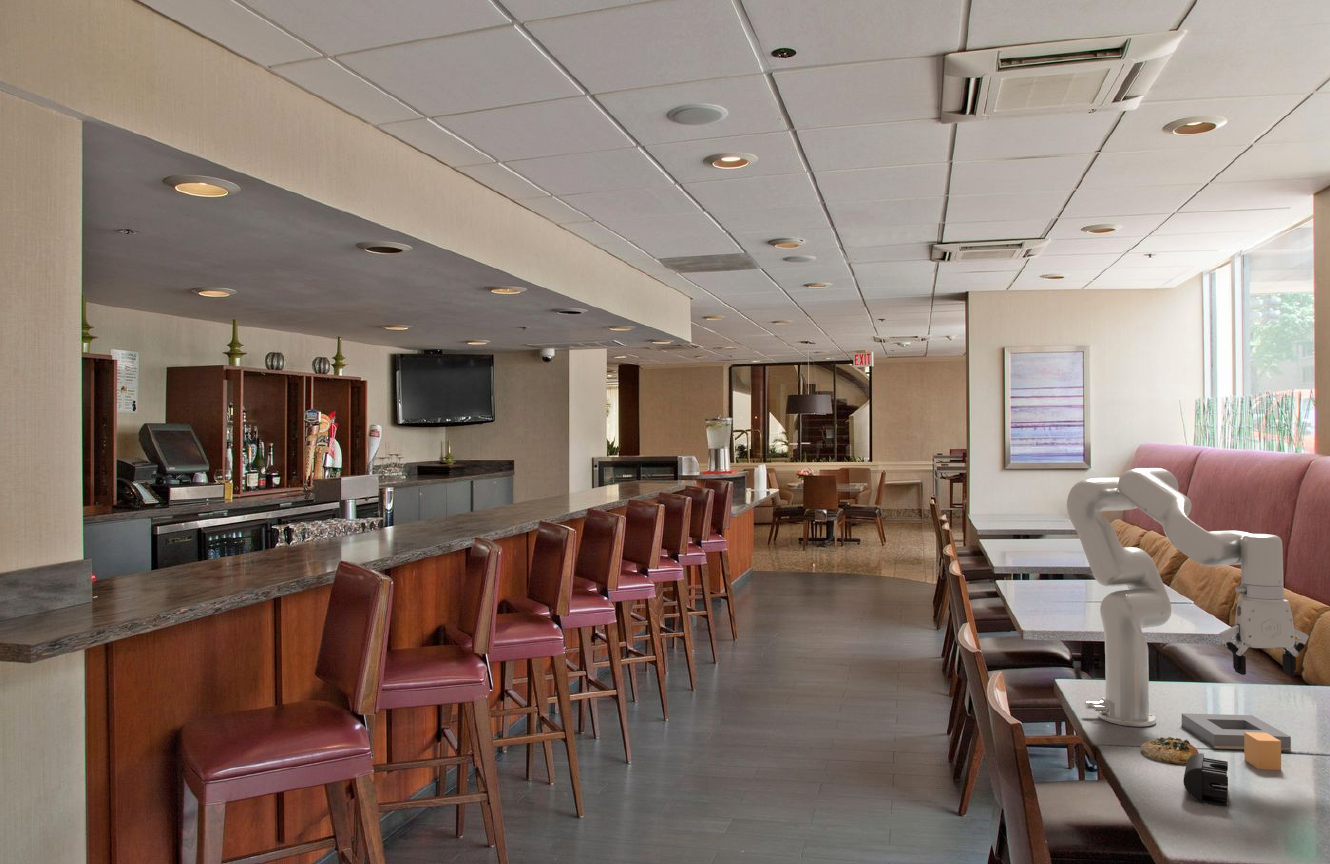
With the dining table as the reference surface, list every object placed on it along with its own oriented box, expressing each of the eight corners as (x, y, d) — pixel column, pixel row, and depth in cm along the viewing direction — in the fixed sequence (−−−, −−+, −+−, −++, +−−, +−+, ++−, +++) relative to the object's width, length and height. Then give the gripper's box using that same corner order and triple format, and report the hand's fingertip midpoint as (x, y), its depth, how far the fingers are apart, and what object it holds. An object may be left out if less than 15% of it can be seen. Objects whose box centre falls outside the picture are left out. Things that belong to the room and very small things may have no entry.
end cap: (1186, 784, 183) (1186, 750, 183) (1228, 791, 179) (1227, 756, 180) (1183, 801, 175) (1183, 765, 175) (1227, 809, 171) (1226, 772, 171)
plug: (1258, 769, 191) (1258, 740, 192) (1244, 760, 197) (1244, 732, 197) (1281, 770, 191) (1281, 741, 191) (1266, 760, 196) (1266, 732, 197)
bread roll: (1191, 750, 203) (1191, 728, 203) (1206, 774, 193) (1206, 751, 192) (1136, 747, 206) (1136, 726, 206) (1148, 771, 196) (1147, 749, 195)
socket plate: (1214, 748, 204) (1214, 734, 204) (1181, 726, 220) (1181, 713, 220) (1290, 750, 203) (1290, 736, 203) (1252, 728, 219) (1252, 715, 219)
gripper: (1228, 595, 192) (1230, 677, 191) (1316, 595, 190) (1318, 678, 190) (1210, 589, 199) (1212, 669, 199) (1295, 590, 198) (1297, 670, 197)
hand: (1264, 673), depth 194 cm, fingers open, 9 cm apart
